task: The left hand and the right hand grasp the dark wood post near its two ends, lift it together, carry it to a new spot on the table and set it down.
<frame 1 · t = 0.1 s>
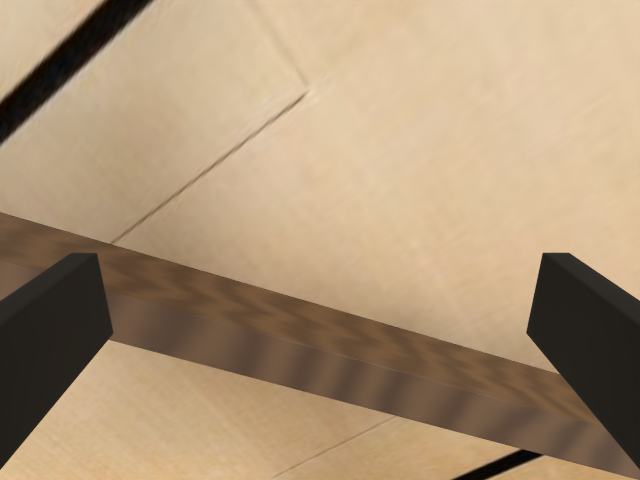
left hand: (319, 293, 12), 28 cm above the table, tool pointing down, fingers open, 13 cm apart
post: (294, 318, 45), on the table
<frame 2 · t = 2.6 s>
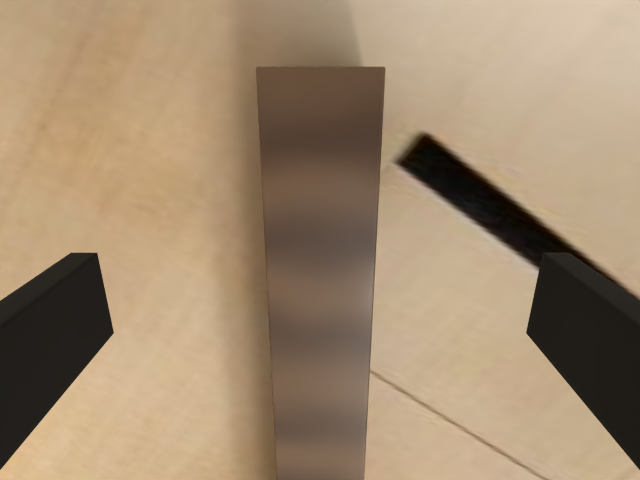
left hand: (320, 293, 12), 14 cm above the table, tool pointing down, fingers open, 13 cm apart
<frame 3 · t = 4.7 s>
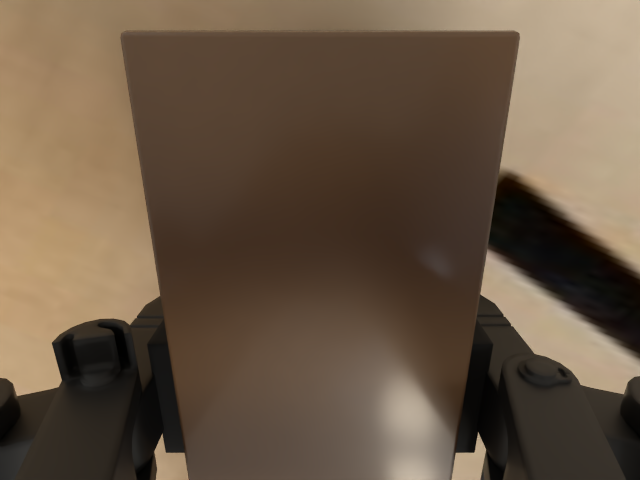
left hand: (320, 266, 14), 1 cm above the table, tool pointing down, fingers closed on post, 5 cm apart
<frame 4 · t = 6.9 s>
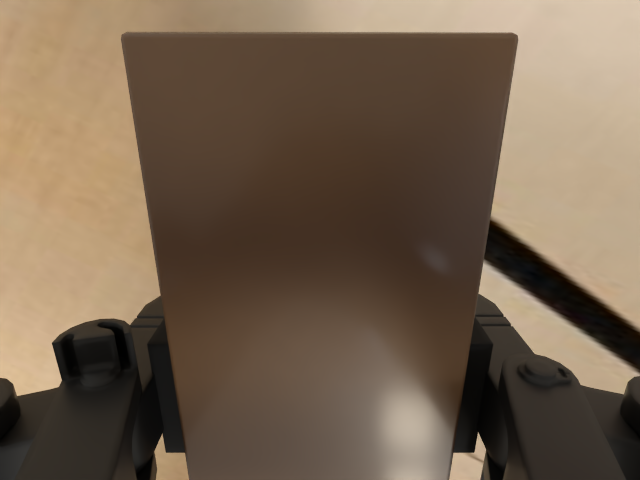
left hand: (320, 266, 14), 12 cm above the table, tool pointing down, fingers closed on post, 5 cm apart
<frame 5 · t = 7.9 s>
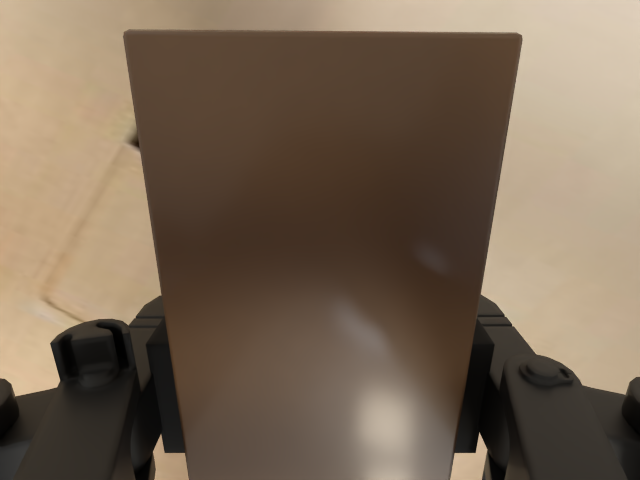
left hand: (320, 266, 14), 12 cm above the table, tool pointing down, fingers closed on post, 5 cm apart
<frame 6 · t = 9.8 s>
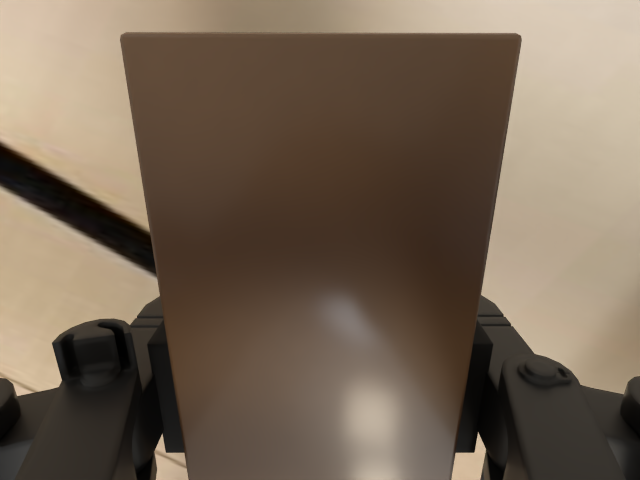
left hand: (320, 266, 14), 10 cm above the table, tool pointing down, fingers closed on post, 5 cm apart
when the left hand's fingers open (2 cm above the table, at t = 11.4 s): post drops 2 cm, on the table.
when the right hand's fingers open (5 cm above the table, at t = 11.6 s): post stays where it is, on the table.
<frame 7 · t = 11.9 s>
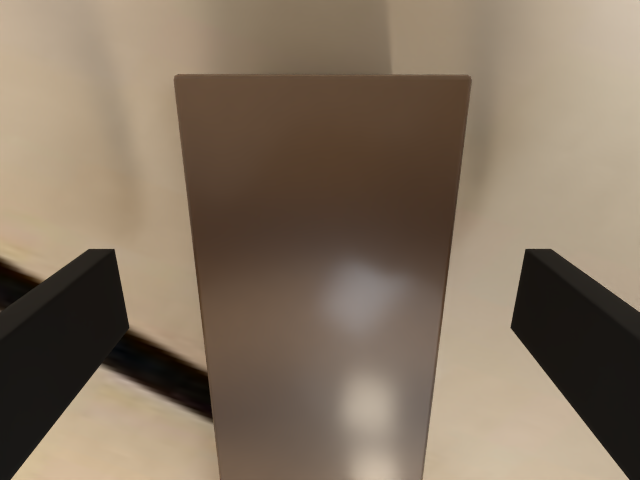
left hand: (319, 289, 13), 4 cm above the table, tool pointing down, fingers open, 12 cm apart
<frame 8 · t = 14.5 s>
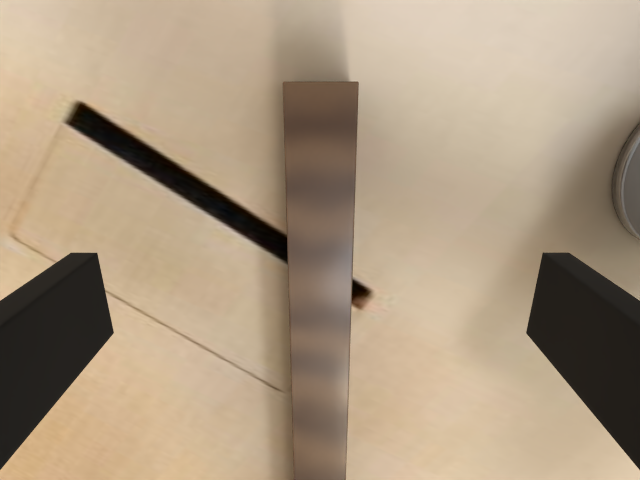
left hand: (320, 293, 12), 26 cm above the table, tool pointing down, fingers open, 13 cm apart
post: (319, 444, 49), on the table
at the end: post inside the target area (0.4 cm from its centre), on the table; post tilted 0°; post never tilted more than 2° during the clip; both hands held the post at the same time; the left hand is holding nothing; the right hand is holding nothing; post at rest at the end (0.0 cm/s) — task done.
